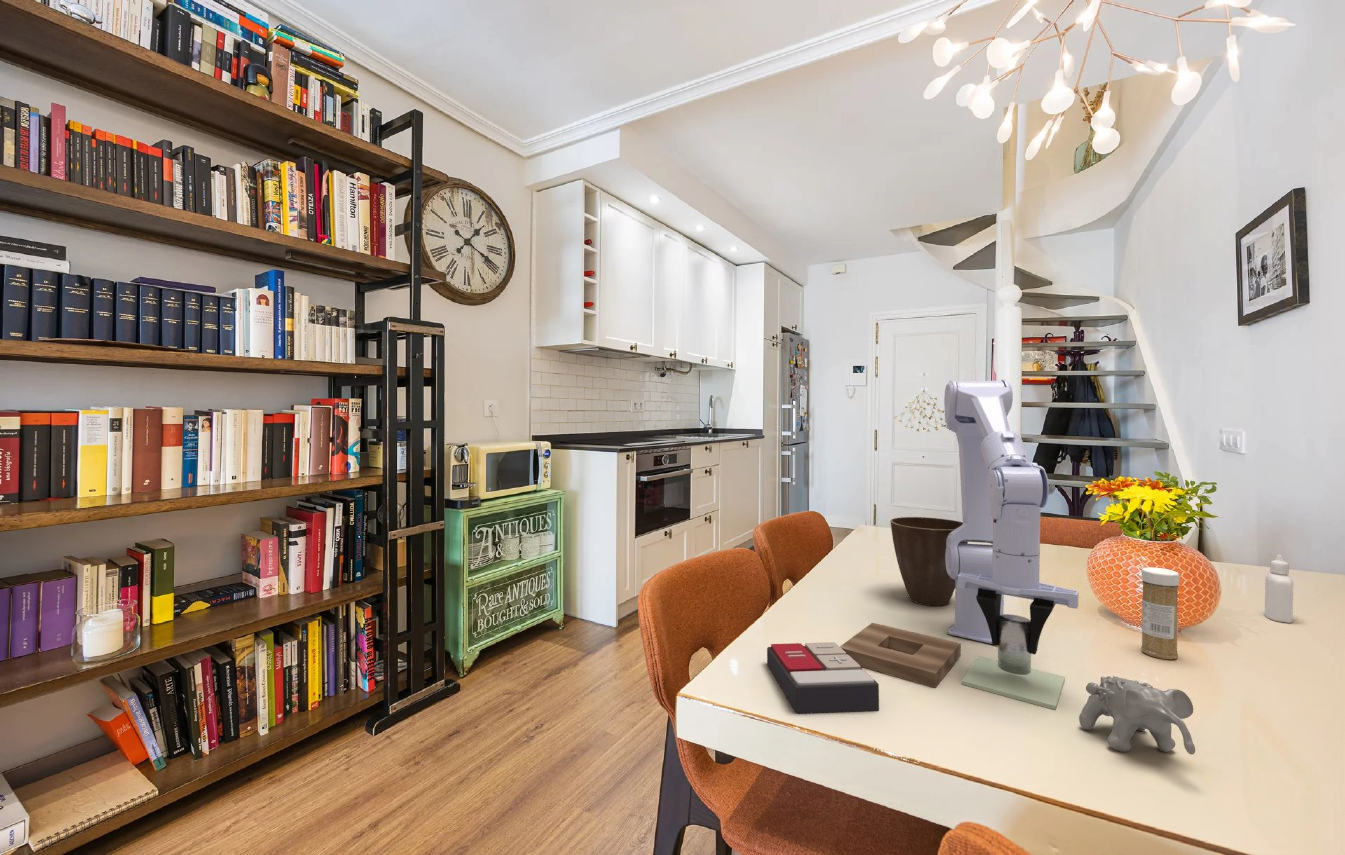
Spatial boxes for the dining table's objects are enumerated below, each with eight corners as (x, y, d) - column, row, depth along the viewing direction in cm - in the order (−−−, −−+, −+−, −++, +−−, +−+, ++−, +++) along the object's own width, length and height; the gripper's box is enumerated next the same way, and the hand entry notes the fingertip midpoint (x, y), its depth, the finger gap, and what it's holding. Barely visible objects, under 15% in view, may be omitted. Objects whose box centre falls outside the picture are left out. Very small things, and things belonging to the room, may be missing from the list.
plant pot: (874, 592, 123) (875, 518, 122) (931, 587, 127) (932, 515, 127) (924, 616, 108) (925, 531, 108) (987, 608, 113) (988, 527, 113)
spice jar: (1182, 656, 90) (1183, 571, 90) (1171, 663, 88) (1173, 575, 88) (1146, 646, 94) (1147, 565, 94) (1135, 652, 92) (1136, 568, 92)
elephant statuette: (1119, 721, 72) (1116, 658, 72) (1240, 771, 60) (1235, 697, 61) (1065, 734, 69) (1062, 669, 69) (1182, 790, 57) (1177, 712, 58)
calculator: (836, 639, 88) (880, 678, 73) (837, 667, 88) (880, 712, 73) (766, 641, 87) (795, 681, 72) (766, 670, 87) (795, 716, 72)
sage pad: (979, 659, 89) (979, 655, 89) (1064, 680, 82) (1064, 676, 82) (961, 684, 80) (961, 680, 80) (1055, 710, 73) (1055, 706, 73)
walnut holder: (872, 634, 99) (872, 622, 99) (960, 655, 90) (960, 643, 90) (838, 660, 88) (838, 647, 88) (935, 687, 79) (935, 673, 79)
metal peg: (1000, 660, 84) (1001, 612, 84) (1032, 667, 81) (1033, 618, 81) (995, 669, 81) (995, 619, 81) (1028, 677, 78) (1029, 626, 78)
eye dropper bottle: (1300, 619, 107) (1302, 556, 107) (1289, 624, 105) (1290, 559, 105) (1268, 612, 111) (1269, 551, 111) (1256, 617, 109) (1257, 554, 109)
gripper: (952, 548, 82) (951, 643, 83) (1075, 565, 73) (1074, 671, 73) (964, 540, 88) (963, 629, 88) (1080, 555, 79) (1078, 654, 79)
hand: (1014, 647), depth 81 cm, fingers closed on metal peg, 4 cm apart
